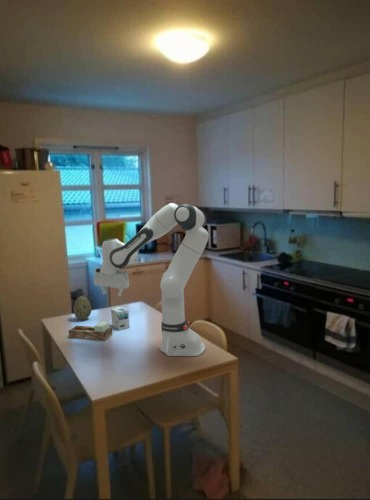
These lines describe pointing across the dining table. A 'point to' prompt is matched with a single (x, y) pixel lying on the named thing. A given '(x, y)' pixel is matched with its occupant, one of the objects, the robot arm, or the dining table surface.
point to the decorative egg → (82, 308)
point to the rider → (101, 327)
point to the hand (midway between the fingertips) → (111, 295)
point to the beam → (89, 333)
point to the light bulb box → (120, 318)
